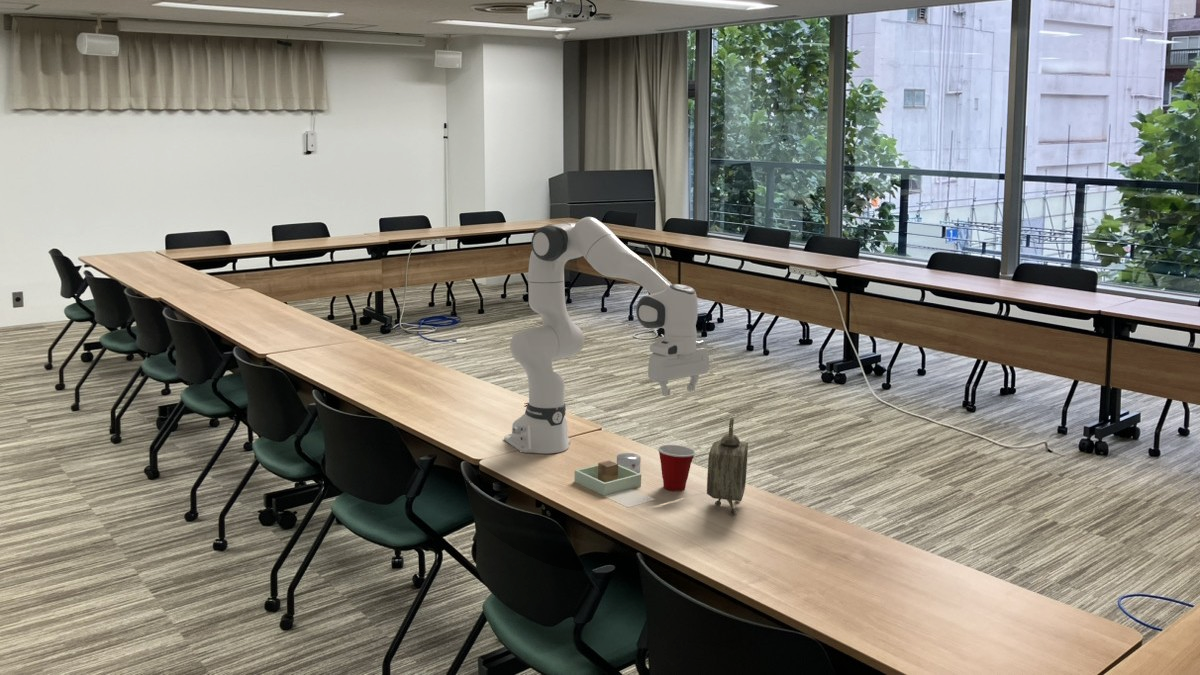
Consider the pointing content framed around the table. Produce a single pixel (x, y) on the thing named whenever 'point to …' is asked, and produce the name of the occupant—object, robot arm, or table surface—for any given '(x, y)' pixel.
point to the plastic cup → (675, 465)
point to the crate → (624, 481)
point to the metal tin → (629, 461)
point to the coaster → (629, 498)
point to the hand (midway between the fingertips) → (678, 393)
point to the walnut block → (607, 471)
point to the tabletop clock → (727, 469)
